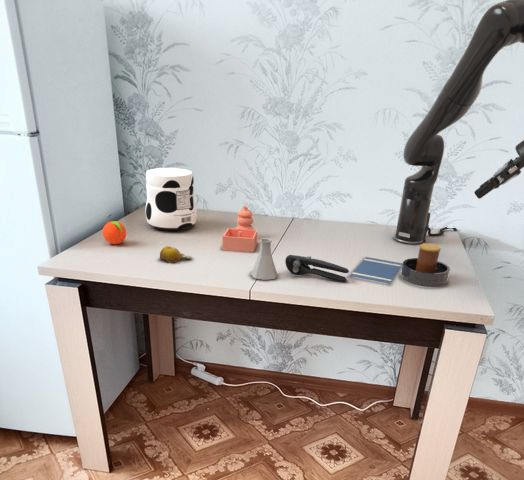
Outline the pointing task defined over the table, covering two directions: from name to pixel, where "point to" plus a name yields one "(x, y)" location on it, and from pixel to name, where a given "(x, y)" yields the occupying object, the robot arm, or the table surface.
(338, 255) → the table surface
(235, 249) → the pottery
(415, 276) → the pan
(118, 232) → the clementine
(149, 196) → the milk container
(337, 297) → the table surface
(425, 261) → the chocolate tin
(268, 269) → the flask
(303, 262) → the can opener
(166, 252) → the fruit
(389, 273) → the tea towel
